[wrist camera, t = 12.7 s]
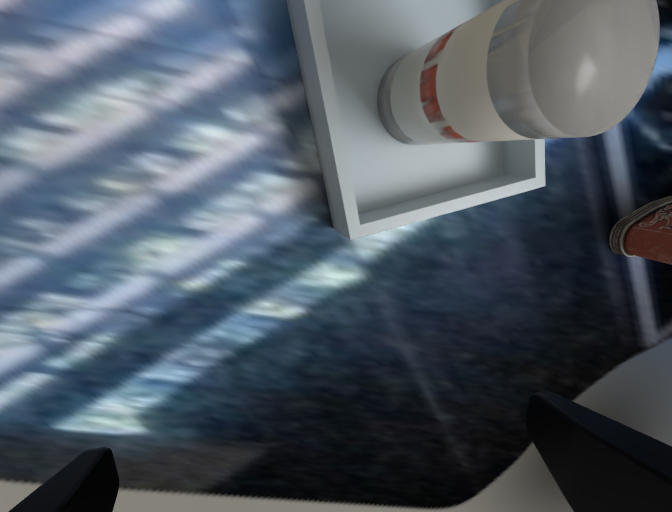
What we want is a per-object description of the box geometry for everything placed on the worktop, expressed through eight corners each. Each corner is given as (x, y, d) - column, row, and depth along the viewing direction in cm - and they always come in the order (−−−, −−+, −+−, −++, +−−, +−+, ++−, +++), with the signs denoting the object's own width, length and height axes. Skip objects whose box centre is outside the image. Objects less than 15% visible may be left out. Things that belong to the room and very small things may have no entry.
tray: (333, 228, 20) (350, 240, 17) (284, -7, 17) (296, -39, 14) (506, 182, 23) (545, 186, 20) (494, -33, 19) (540, -65, 16)
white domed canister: (370, 137, 19) (508, 120, 10) (385, 43, 18) (556, -75, 9) (443, 151, 20) (627, 148, 11) (462, 65, 19) (680, -18, 10)
